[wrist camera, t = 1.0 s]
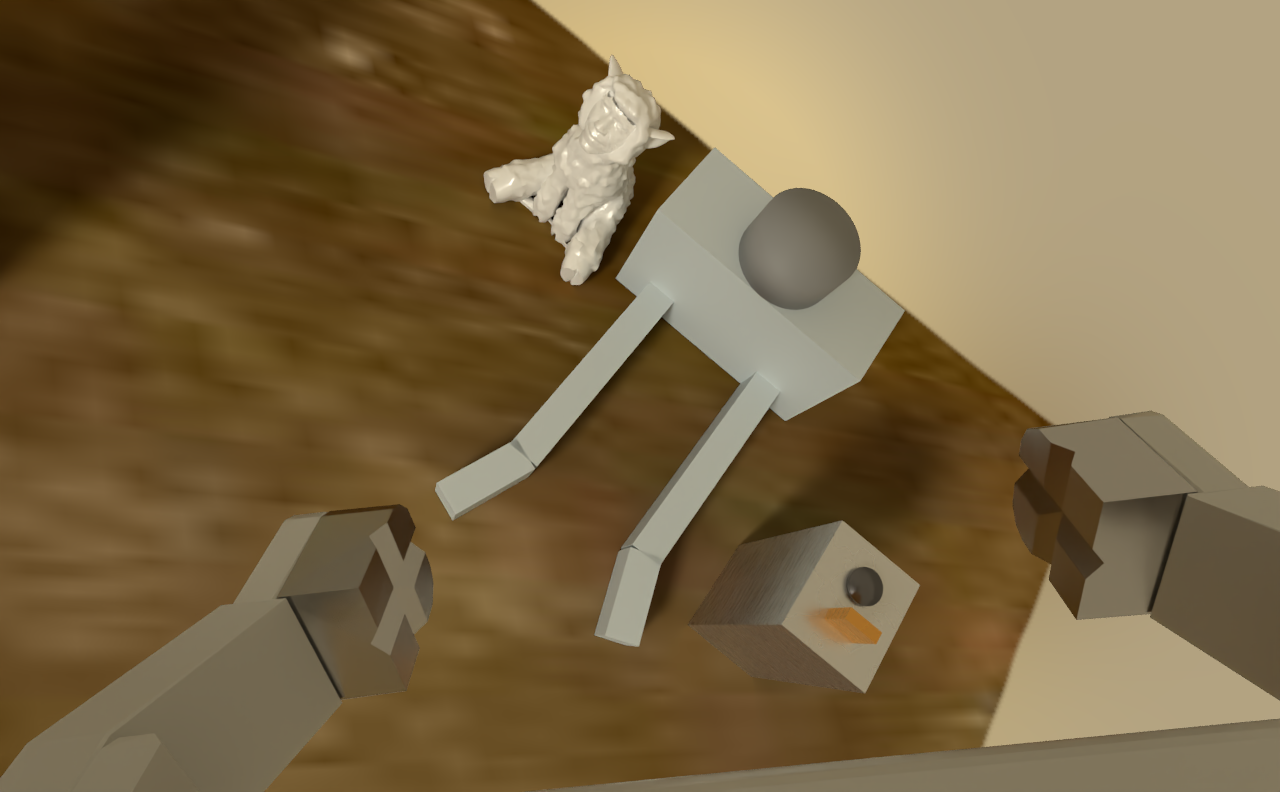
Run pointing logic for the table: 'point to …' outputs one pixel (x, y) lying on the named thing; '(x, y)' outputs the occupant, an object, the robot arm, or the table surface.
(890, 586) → the block
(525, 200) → the white creature statuette
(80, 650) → the table surface
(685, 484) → the bracket
